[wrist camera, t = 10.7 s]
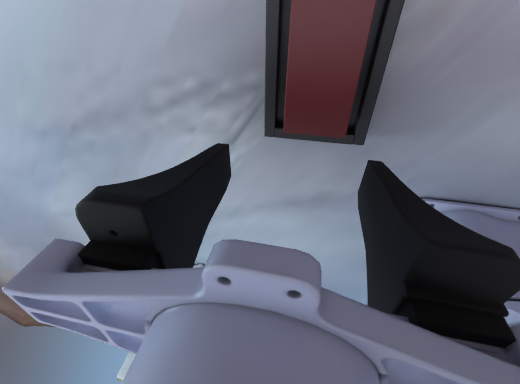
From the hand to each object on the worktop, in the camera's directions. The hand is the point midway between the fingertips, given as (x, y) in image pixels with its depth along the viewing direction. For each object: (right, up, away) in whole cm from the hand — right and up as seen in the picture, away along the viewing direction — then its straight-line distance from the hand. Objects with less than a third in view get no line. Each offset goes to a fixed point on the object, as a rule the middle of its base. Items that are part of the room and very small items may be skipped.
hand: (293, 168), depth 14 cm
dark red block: (+2, +9, +3) cm, 10 cm away
